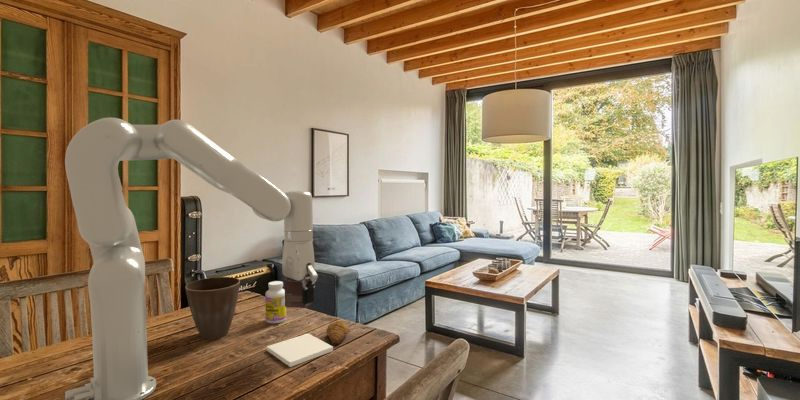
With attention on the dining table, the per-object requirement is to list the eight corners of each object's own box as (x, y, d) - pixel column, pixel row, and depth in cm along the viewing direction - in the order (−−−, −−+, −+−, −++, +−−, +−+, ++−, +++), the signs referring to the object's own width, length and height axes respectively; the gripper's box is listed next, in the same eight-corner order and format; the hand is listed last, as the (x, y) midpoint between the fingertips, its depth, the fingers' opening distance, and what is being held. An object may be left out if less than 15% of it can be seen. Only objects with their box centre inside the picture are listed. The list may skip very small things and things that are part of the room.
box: (305, 309, 101) (304, 281, 101) (284, 307, 102) (283, 280, 102) (314, 301, 107) (314, 276, 107) (294, 300, 108) (294, 275, 108)
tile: (290, 367, 96) (290, 362, 96) (266, 350, 105) (266, 346, 105) (333, 351, 105) (333, 346, 105) (308, 337, 114) (308, 333, 114)
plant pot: (242, 339, 112) (241, 286, 112) (184, 349, 106) (183, 292, 105) (239, 322, 126) (238, 274, 125) (188, 330, 120) (187, 279, 119)
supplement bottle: (261, 322, 126) (260, 284, 125) (273, 316, 132) (273, 279, 131) (278, 325, 124) (278, 286, 123) (290, 318, 130) (289, 281, 129)
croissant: (329, 328, 122) (328, 313, 121) (350, 328, 122) (350, 312, 122) (323, 347, 108) (323, 330, 108) (347, 346, 109) (347, 329, 108)
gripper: (270, 234, 107) (272, 295, 108) (303, 241, 95) (304, 310, 96) (295, 231, 112) (295, 290, 113) (328, 238, 100) (329, 303, 101)
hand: (299, 299), depth 105 cm, fingers closed on box, 8 cm apart
